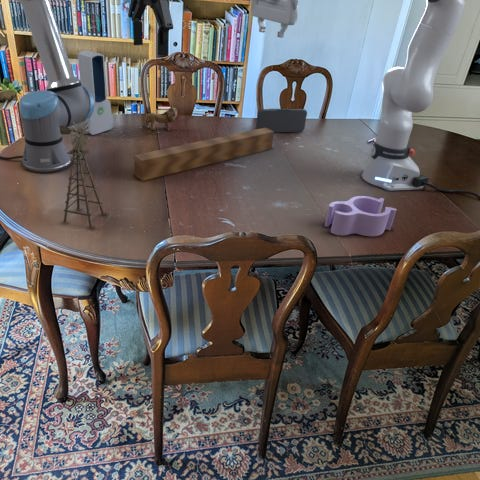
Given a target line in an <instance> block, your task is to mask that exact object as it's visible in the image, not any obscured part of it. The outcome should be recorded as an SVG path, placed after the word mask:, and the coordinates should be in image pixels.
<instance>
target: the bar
mask: <svg viewBox="0 0 480 480" xmlns="http://www.w3.org/2000/svg"><path fill="white" fill-rule="evenodd" d="M274 133H275V132H274V131H272V130H270V129H268V128H261V129H256V128H255V129H252V130H247V131H242V132H238V133H233V134H232V133H231V134H229V135H224V136H219V137H214V138H213V137H212V138H209V139H204V140H199V141H195V142H194V141H193V142H190V143H186V144H180V145H177V146H171V147H167V148H162V149H157V150H152V151H148V152H143V153H137V154H134V155H133V159H134V160H133V161H134V164H133V165H134V176H135V177H136V178H137V179H139V180H140V181H141V182H144V181H149V180H152V179H156V178H160V177H165V176H167V175H172V174H177V173H180V172H184V171H189V170H191V169H196V168H199V167H204V166H208V165H212V164H216V163H219V162H224V161H228V160H231V159H236V158H240V157H243V156H248V155H252V154H256V153H260V152H265V151H269V150H272V149H273V142H274Z"/></svg>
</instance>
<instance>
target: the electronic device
mask: <svg viewBox="0 0 480 480" xmlns="http://www.w3.org/2000/svg"><path fill="white" fill-rule="evenodd" d="M77 60H78V72H79V80H80V81H81V85H82V86H83V87H85V88H87V89H88V91H90V92H91V94H92V96H93V99H94V111H93V113H92V115H91V117H90V118H89V119H87V120H85V122H84V121H83V122H82V125H83V123H84V125H85V124H86V122H87V125H86V126H85V128H86V127H88V129H86V130H85V131H83V132H88V131H89V132H88V134H87V135H91V136H94V135H98V134H101V133H104V132H106V131H110V130H112V129H113V126H114V121H113V120H114V119H113V113H112V112H113V111H112V106H111V100H109V99H108V96H107V95H108V94H107V80H106V64H105V55H104V54H102V53H100V52H99V53H98V52H95V51H91V50H88V49H87V50H85V49H84V50H82V51H79V52H78V53H77ZM77 124H78V123H77ZM84 125H83V127H84ZM78 127H80V128H83V127H82V126H80V123H79V124H78ZM85 128H84V129H85ZM84 129H83V130H84ZM80 131H81V129H80Z"/></svg>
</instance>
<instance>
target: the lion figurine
mask: <svg viewBox="0 0 480 480" xmlns="http://www.w3.org/2000/svg"><path fill="white" fill-rule="evenodd" d="M177 117H178V109H177V108H176V107H170V108H168V110H166V111H165V112H163V113H155V112H150V113H149V114H147V116H146V118H145V123H144V125H143V126H142V129H145V128H148V129H150V128H151V130H152V131H156V128H155V127H154V125H155V122H156V123H159V124H164V128H165V129H166V130H167V131H168V132H169V131H171V129H170V124H172V123H173V122H175V120H176V119H177ZM149 124H150V125H149Z"/></svg>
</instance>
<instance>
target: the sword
mask: <svg viewBox="0 0 480 480" xmlns="http://www.w3.org/2000/svg"><path fill="white" fill-rule="evenodd" d="M375 139H376V137H374V138H370V139H368V140H367V144H369V143H372V142H374V140H375Z"/></svg>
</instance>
